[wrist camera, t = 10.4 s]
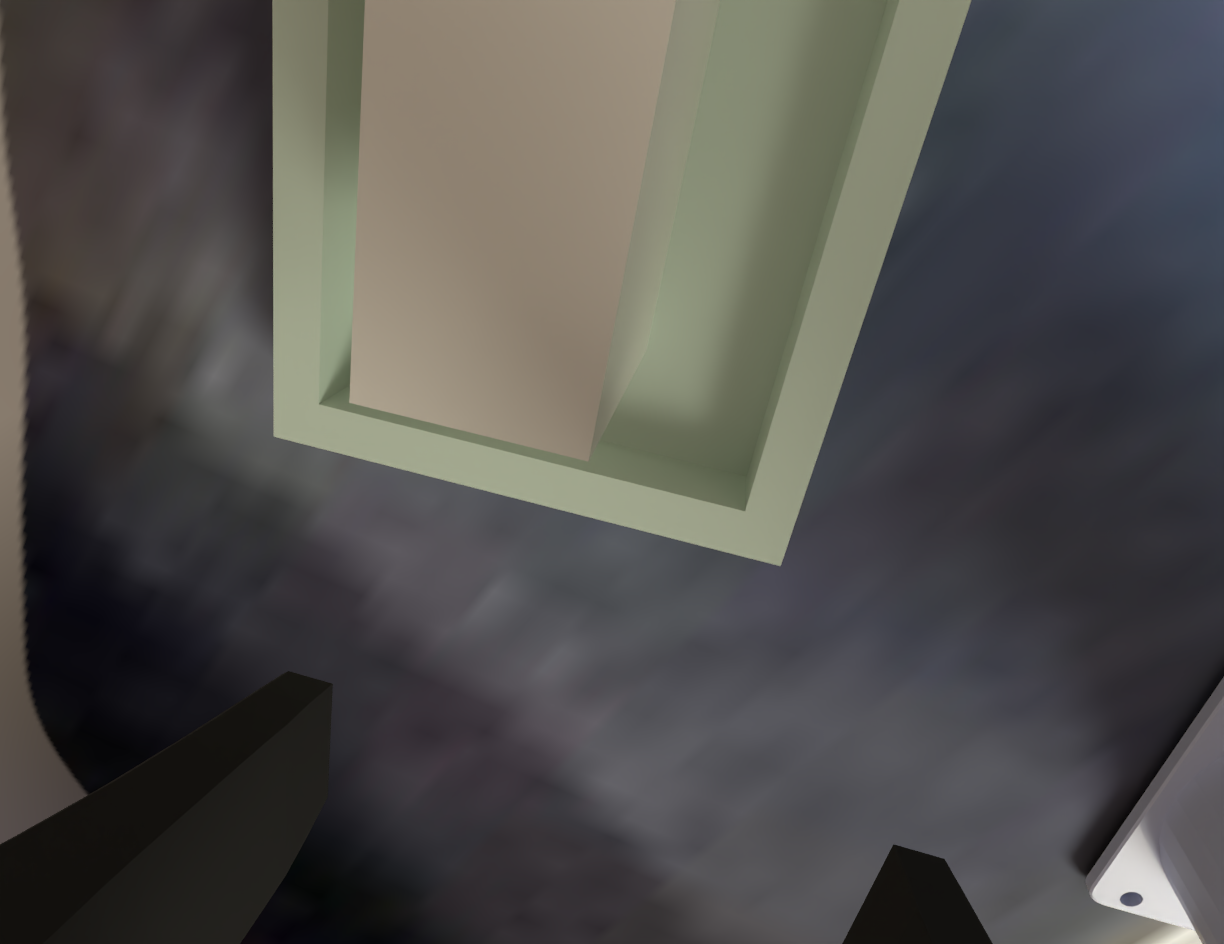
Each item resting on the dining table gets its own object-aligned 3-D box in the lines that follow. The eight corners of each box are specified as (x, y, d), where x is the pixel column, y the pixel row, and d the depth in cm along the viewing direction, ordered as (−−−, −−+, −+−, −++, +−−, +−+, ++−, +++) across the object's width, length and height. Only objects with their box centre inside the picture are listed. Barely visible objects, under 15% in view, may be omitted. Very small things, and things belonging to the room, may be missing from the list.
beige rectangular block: (797, -367, 11) (832, -825, 6) (646, 349, 16) (588, 461, 11) (568, -401, 12) (397, -870, 6) (486, 312, 16) (349, 402, 11)
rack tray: (1125, -562, 10) (1224, -750, 8) (778, 510, 18) (780, 566, 16) (367, -663, 11) (269, -858, 9) (332, 399, 19) (274, 436, 16)
